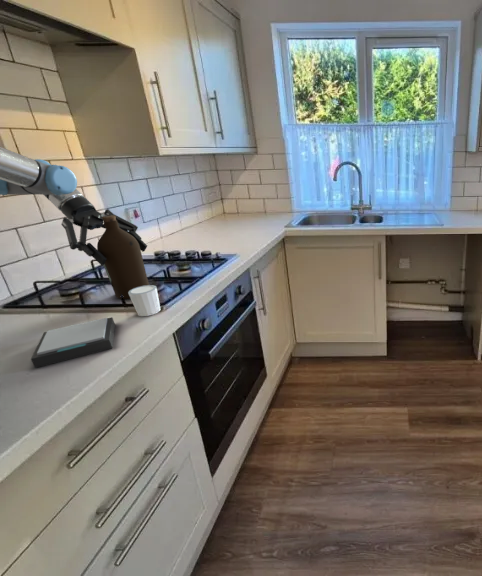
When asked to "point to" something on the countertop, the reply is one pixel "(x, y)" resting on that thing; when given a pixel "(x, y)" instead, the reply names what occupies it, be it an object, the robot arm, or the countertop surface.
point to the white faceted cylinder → (145, 300)
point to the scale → (74, 341)
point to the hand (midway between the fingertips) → (125, 255)
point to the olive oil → (121, 258)
